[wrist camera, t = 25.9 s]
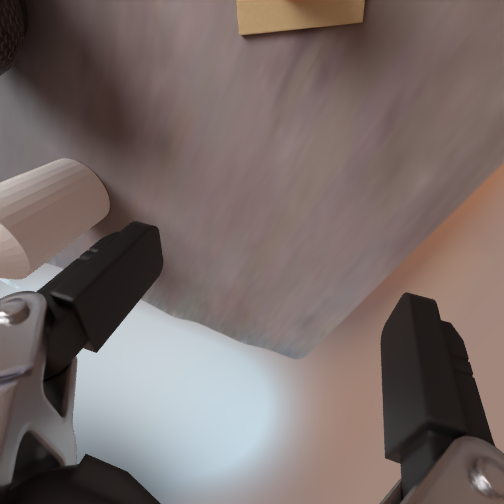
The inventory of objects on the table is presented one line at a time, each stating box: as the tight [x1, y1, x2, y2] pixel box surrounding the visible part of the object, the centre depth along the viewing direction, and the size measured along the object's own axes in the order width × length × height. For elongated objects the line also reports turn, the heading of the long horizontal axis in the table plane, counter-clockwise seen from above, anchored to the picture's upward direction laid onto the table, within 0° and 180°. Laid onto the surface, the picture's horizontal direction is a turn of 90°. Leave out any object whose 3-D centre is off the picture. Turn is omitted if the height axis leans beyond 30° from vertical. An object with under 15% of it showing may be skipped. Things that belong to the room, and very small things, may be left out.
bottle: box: [0, 158, 110, 279], centre depth 41 cm, size 12×12×25 cm
